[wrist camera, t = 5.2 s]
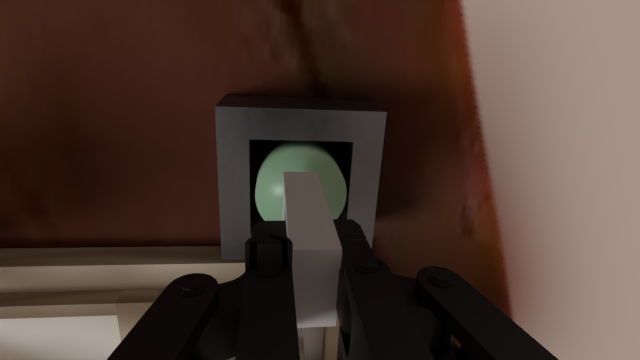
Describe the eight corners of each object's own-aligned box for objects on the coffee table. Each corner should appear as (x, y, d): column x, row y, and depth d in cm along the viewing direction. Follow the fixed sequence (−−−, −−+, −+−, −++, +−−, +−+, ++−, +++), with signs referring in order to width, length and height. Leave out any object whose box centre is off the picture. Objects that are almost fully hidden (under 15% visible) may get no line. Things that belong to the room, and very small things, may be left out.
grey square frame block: (225, 94, 21) (214, 106, 17) (367, 99, 22) (386, 111, 18) (230, 224, 23) (221, 259, 20) (356, 224, 24) (370, 257, 21)
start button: (257, 135, 20) (254, 150, 17) (339, 137, 20) (349, 152, 18) (257, 210, 21) (255, 236, 19) (334, 210, 22) (343, 235, 19)
